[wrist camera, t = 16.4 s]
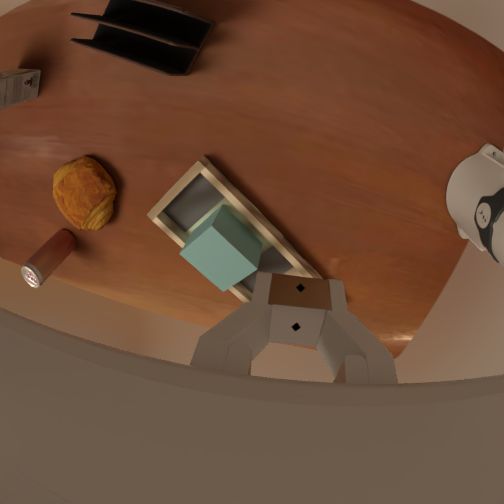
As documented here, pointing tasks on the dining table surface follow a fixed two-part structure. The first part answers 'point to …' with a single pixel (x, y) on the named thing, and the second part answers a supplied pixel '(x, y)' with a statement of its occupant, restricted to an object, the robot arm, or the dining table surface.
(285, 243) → the trap lane
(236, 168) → the dining table surface
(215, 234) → the teal block
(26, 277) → the beverage can
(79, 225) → the croissant
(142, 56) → the letter holder
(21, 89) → the coffee box
